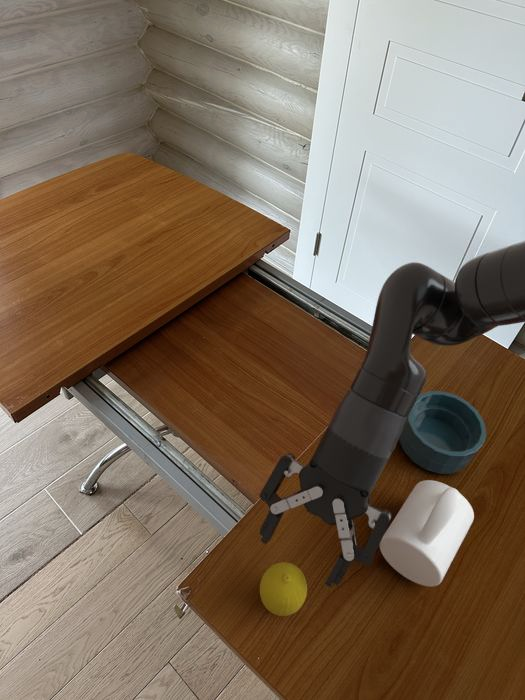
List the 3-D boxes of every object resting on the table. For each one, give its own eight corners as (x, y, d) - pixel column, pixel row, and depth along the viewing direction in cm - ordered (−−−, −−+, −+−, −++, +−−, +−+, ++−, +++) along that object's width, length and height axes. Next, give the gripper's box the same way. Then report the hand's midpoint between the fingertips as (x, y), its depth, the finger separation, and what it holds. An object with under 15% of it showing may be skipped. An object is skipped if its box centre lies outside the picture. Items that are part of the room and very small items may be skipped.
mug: (372, 553, 68) (396, 514, 59) (407, 498, 74) (434, 454, 65) (428, 595, 65) (462, 561, 56) (461, 534, 71) (497, 494, 62)
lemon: (252, 616, 62) (257, 596, 56) (263, 570, 66) (268, 546, 60) (297, 629, 61) (306, 610, 55) (306, 582, 65) (315, 559, 59)
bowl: (484, 447, 81) (500, 426, 76) (442, 491, 75) (457, 470, 71) (425, 401, 86) (437, 379, 82) (382, 439, 80) (392, 417, 76)
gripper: (296, 410, 56) (233, 537, 58) (418, 477, 52) (346, 612, 54) (312, 406, 63) (255, 519, 65) (420, 465, 59) (357, 585, 61)
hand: (296, 561), depth 59 cm, fingers open, 8 cm apart
